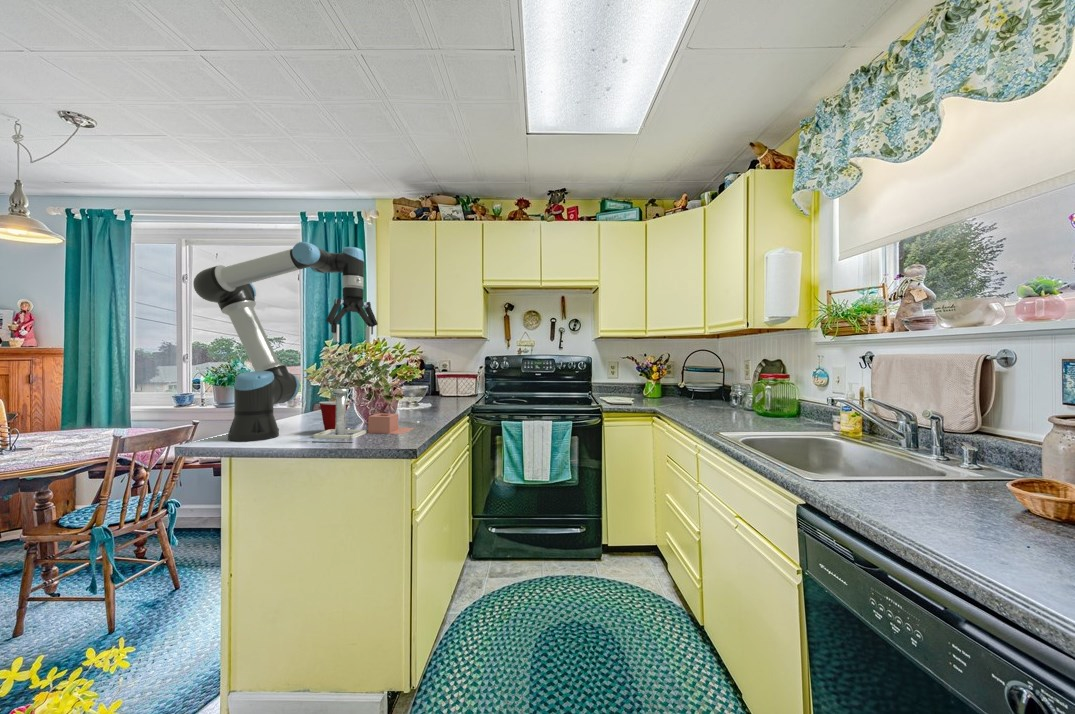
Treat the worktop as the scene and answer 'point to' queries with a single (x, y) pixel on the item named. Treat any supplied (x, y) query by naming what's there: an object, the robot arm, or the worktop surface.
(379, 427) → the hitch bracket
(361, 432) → the tray
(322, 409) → the plastic cup
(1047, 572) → the worktop surface
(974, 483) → the worktop surface
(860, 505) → the worktop surface
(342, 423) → the pin
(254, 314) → the robot arm
